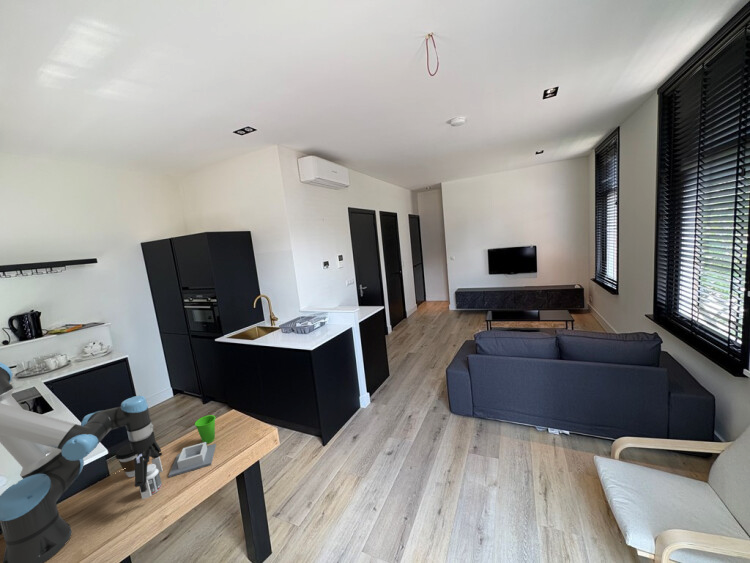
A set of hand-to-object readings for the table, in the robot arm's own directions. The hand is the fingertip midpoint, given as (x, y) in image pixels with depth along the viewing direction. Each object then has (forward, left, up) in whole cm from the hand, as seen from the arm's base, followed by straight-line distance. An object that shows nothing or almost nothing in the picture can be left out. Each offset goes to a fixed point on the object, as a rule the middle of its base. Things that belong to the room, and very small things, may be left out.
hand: (153, 484), depth 120 cm
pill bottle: (0, 0, -3) cm, 3 cm away
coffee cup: (-11, +16, -3) cm, 20 cm away
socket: (+12, +12, -3) cm, 17 cm away
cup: (+16, +25, -3) cm, 30 cm away
